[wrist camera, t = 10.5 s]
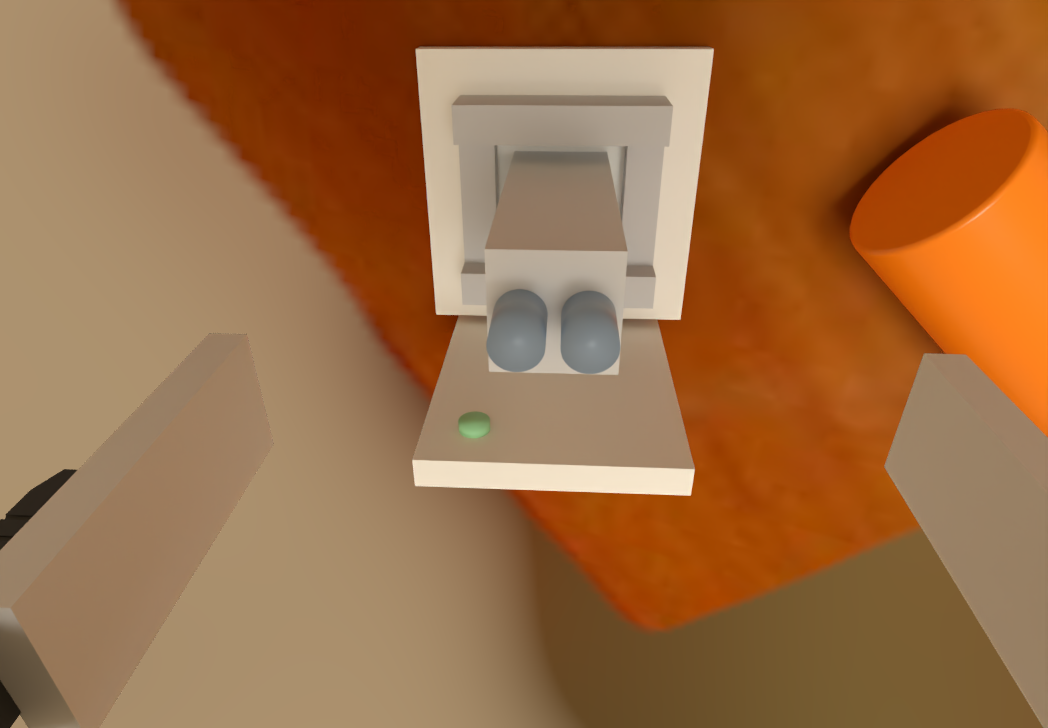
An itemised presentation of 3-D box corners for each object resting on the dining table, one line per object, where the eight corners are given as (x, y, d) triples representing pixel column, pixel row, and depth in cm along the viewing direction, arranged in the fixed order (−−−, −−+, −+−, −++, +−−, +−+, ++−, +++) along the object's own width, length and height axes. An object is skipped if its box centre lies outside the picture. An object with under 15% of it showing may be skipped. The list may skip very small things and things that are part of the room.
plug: (514, 151, 29) (475, 277, 17) (607, 151, 29) (633, 279, 17) (515, 239, 31) (481, 407, 19) (602, 240, 31) (622, 411, 19)
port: (420, 46, 28) (334, 89, 18) (709, 46, 28) (792, 91, 17) (441, 333, 35) (388, 484, 25) (674, 339, 35) (718, 496, 24)
